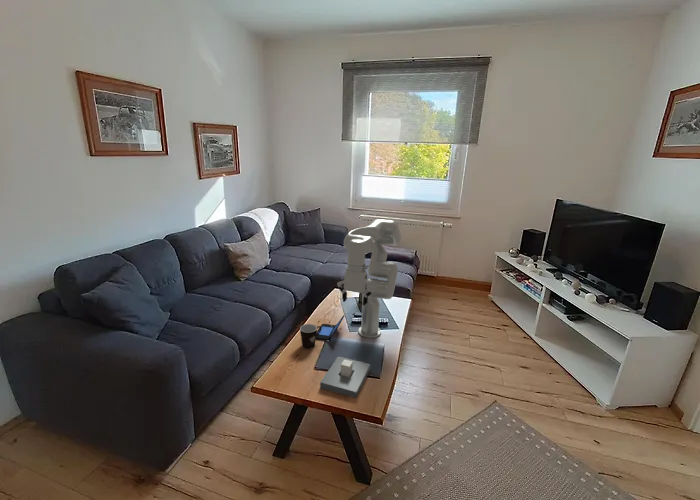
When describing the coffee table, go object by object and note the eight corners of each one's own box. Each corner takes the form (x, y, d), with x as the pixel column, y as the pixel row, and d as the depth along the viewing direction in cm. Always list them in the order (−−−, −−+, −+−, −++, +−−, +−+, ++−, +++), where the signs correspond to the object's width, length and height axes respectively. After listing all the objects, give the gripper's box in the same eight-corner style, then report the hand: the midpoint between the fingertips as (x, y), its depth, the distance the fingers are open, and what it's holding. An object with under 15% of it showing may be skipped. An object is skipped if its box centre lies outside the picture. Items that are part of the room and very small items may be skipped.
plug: (343, 374, 150) (344, 359, 147) (352, 377, 148) (352, 361, 146) (340, 380, 146) (340, 364, 144) (349, 382, 145) (349, 366, 142)
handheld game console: (322, 325, 192) (322, 310, 190) (344, 328, 189) (345, 314, 187) (313, 339, 178) (312, 323, 175) (337, 343, 175) (337, 327, 172)
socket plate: (338, 361, 159) (338, 356, 158) (370, 369, 154) (370, 364, 153) (320, 388, 141) (320, 382, 140) (355, 398, 135) (356, 392, 135)
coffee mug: (301, 351, 166) (301, 333, 163) (299, 342, 174) (298, 325, 171) (324, 348, 169) (324, 330, 167) (320, 339, 177) (321, 322, 175)
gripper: (377, 267, 148) (375, 302, 153) (340, 262, 153) (340, 296, 158) (372, 272, 141) (370, 309, 146) (334, 267, 147) (334, 302, 151)
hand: (354, 302), depth 152 cm, fingers open, 9 cm apart
